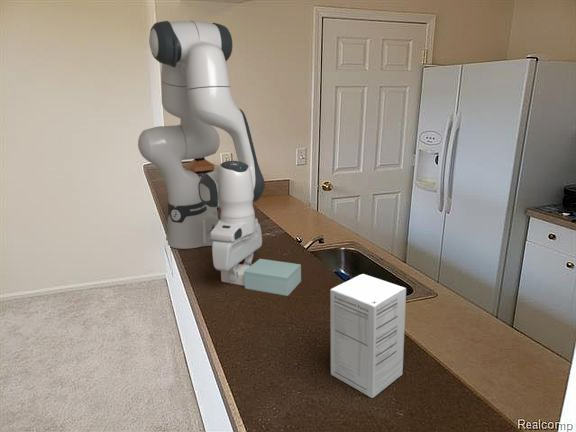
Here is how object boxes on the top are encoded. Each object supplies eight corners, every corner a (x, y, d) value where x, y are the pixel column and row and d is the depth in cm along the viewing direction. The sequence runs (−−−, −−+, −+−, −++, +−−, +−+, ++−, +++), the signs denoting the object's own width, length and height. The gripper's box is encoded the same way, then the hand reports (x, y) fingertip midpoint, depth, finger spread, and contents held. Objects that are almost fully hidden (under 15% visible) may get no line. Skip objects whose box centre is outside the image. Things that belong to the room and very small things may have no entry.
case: (260, 274, 119) (259, 258, 117) (301, 281, 114) (300, 264, 113) (244, 288, 111) (243, 271, 109) (287, 295, 106) (287, 278, 105)
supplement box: (404, 374, 76) (409, 287, 71) (372, 400, 70) (376, 307, 65) (360, 352, 83) (362, 271, 78) (328, 374, 77) (328, 287, 72)
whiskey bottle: (195, 214, 179) (188, 136, 170) (189, 209, 188) (182, 134, 179) (219, 210, 184) (213, 135, 175) (211, 205, 192) (206, 133, 183)
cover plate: (233, 273, 120) (232, 263, 119) (278, 280, 115) (277, 270, 114) (221, 281, 115) (220, 271, 114) (267, 290, 109) (267, 279, 109)
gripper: (246, 213, 122) (249, 258, 126) (206, 235, 104) (210, 287, 108) (266, 215, 119) (268, 261, 123) (228, 237, 101) (232, 291, 105)
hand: (241, 273), depth 115 cm, fingers closed on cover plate, 6 cm apart
